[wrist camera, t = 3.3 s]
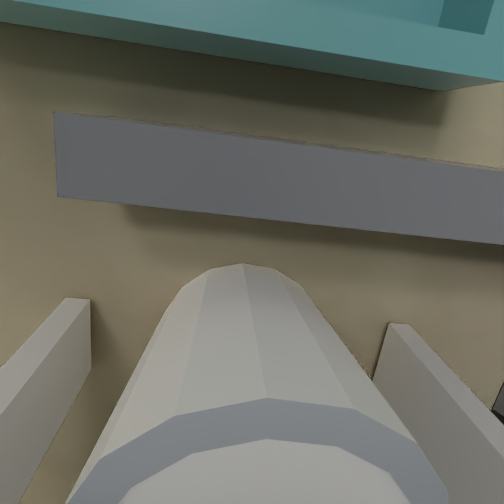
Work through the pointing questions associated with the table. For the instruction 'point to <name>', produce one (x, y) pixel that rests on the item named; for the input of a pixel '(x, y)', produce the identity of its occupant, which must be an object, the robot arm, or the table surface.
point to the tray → (302, 33)
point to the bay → (275, 180)
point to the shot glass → (252, 409)
